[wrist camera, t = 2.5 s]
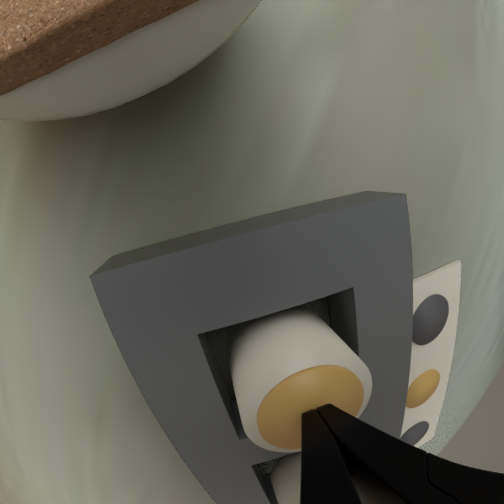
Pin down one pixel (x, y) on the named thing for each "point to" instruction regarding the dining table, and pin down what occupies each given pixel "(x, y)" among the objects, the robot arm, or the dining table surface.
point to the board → (257, 305)
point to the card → (431, 350)
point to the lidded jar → (103, 50)
